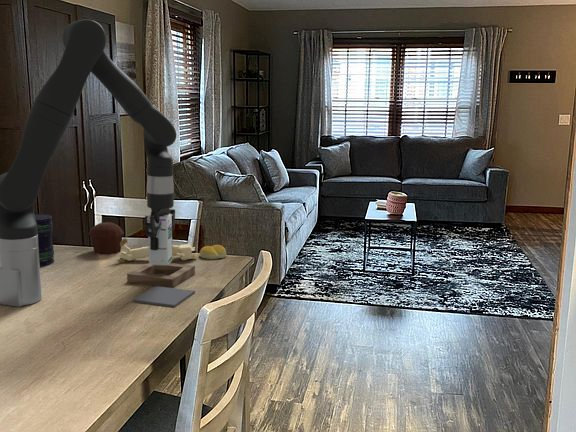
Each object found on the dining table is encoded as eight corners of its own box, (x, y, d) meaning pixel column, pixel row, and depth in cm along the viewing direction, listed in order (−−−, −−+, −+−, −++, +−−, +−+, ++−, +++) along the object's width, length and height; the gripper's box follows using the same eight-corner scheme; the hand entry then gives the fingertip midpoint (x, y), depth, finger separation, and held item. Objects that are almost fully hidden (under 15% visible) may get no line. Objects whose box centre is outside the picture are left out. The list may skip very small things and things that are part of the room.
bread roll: (196, 255, 198) (196, 243, 198) (221, 252, 202) (221, 241, 201) (203, 261, 191) (203, 249, 190) (229, 258, 195) (229, 247, 194)
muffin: (131, 249, 203) (130, 221, 201) (113, 257, 192) (112, 227, 190) (101, 246, 206) (100, 218, 204) (82, 253, 195) (81, 225, 193)
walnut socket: (172, 287, 163) (172, 279, 162) (127, 282, 167) (127, 273, 166) (195, 273, 176) (195, 265, 176) (152, 268, 180) (152, 261, 180)
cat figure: (120, 269, 184) (199, 261, 188) (116, 242, 182) (196, 235, 186) (123, 260, 193) (198, 253, 198) (119, 235, 192) (195, 228, 196)
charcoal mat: (174, 307, 148) (174, 305, 147) (133, 301, 151) (133, 299, 151) (195, 292, 159) (195, 290, 159) (156, 287, 162) (155, 285, 162)
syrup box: (168, 265, 167) (168, 216, 165) (148, 265, 168) (147, 216, 165) (172, 260, 173) (172, 213, 170) (153, 259, 173) (152, 212, 170)
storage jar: (20, 260, 186) (17, 214, 183) (53, 257, 190) (51, 213, 187) (21, 268, 177) (17, 220, 174) (55, 265, 181) (52, 218, 178)
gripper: (159, 195, 158) (160, 254, 162) (183, 188, 172) (183, 243, 175) (135, 193, 161) (136, 251, 164) (160, 187, 174) (161, 240, 177)
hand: (160, 247), depth 169 cm, fingers closed on syrup box, 6 cm apart
